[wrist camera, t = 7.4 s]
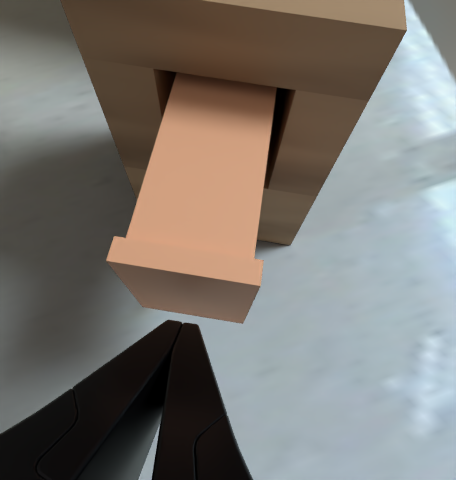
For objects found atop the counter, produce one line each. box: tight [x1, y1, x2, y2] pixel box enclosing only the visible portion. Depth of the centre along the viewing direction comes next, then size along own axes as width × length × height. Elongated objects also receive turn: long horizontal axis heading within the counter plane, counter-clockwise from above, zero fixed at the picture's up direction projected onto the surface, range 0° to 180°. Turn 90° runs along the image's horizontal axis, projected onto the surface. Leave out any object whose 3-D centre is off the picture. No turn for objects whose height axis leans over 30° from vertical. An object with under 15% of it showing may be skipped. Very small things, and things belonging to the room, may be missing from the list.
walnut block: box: [60, 0, 407, 245], centre depth 14 cm, size 7×8×12 cm
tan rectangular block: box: [106, 72, 277, 324], centre depth 11 cm, size 8×3×4 cm, turn 171°
